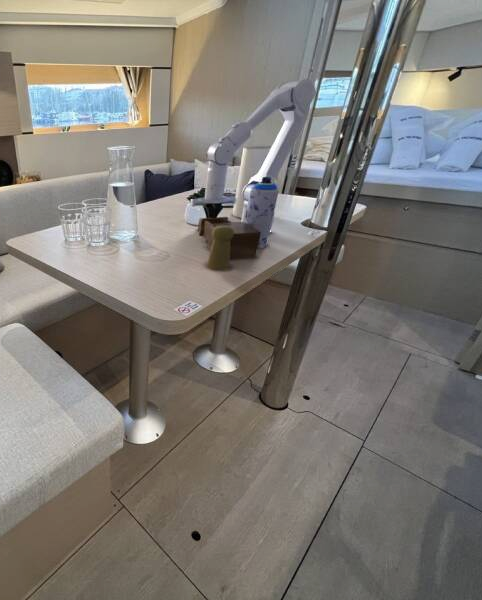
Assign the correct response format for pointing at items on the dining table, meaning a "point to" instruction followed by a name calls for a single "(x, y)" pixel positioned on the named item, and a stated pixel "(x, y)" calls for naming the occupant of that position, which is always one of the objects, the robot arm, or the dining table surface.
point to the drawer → (206, 224)
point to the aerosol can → (262, 208)
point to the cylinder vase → (249, 172)
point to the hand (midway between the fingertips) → (210, 226)
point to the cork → (220, 248)
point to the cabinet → (239, 240)
